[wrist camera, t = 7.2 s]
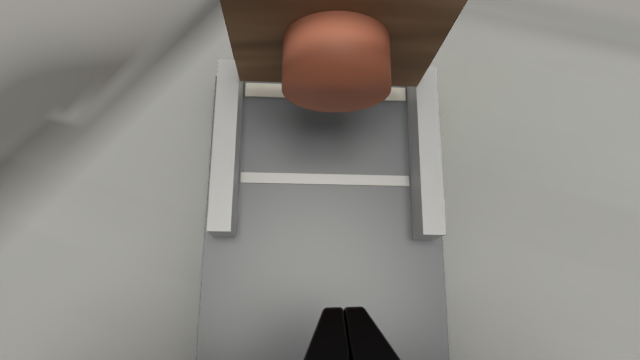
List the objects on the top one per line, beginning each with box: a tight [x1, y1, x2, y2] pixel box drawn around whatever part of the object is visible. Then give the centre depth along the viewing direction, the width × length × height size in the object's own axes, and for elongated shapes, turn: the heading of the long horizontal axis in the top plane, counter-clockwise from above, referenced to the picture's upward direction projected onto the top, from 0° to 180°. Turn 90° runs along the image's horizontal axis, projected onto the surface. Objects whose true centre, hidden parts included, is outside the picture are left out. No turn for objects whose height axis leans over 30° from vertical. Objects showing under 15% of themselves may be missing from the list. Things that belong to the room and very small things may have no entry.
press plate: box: [220, 0, 467, 112], centre depth 17 cm, size 3×8×8 cm, turn 90°
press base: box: [196, 58, 449, 360], centre depth 21 cm, size 14×11×3 cm
